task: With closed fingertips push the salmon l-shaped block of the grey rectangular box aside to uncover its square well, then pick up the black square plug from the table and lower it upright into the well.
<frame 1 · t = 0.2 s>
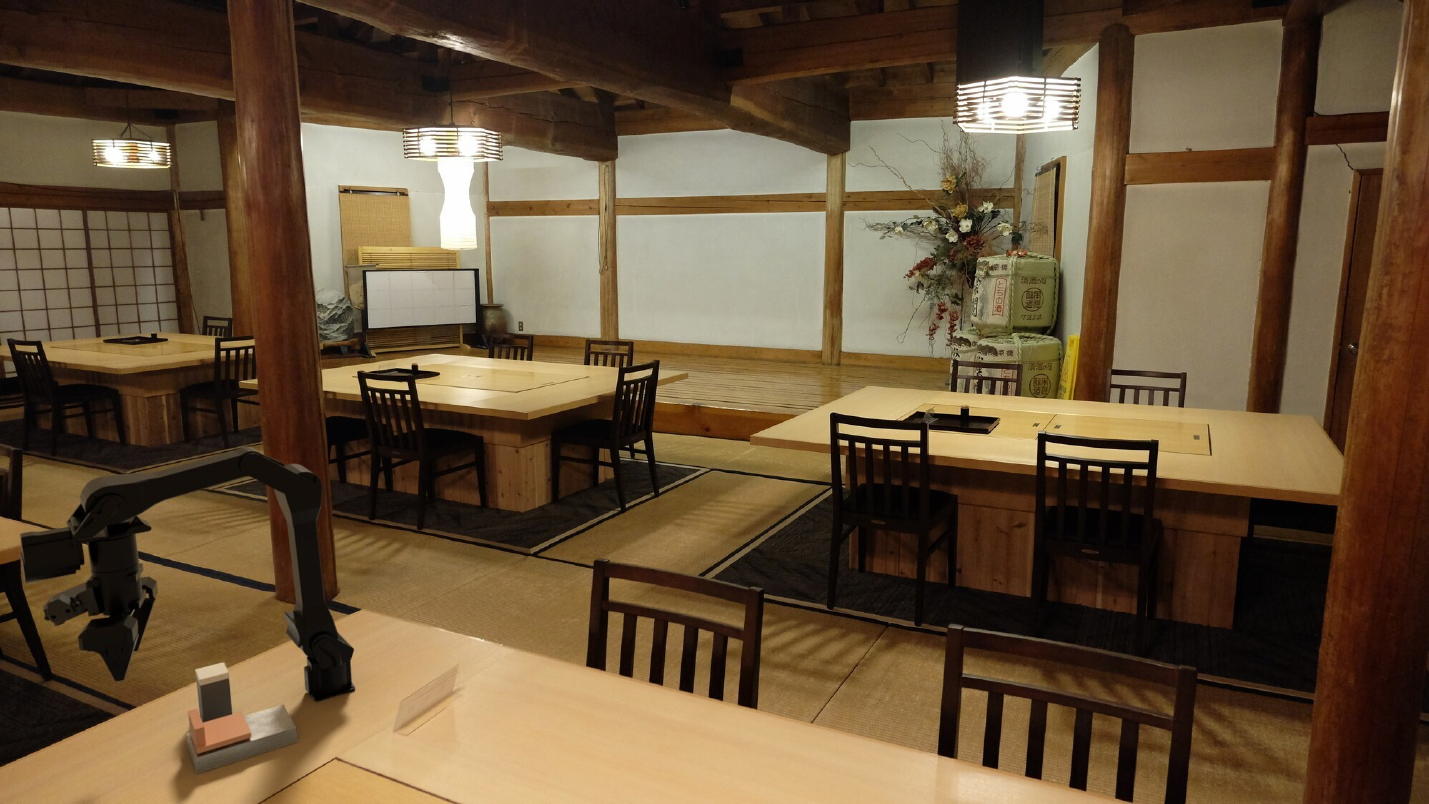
hand: (127, 665, 127), 14 cm above the table, fingers open, 9 cm apart
plug: (216, 716, 138), on the table
grey rectangular box: (244, 744, 131), on the table
salmon l-shaped block: (219, 723, 128), point 5 cm above the table, slide at 0.0 cm
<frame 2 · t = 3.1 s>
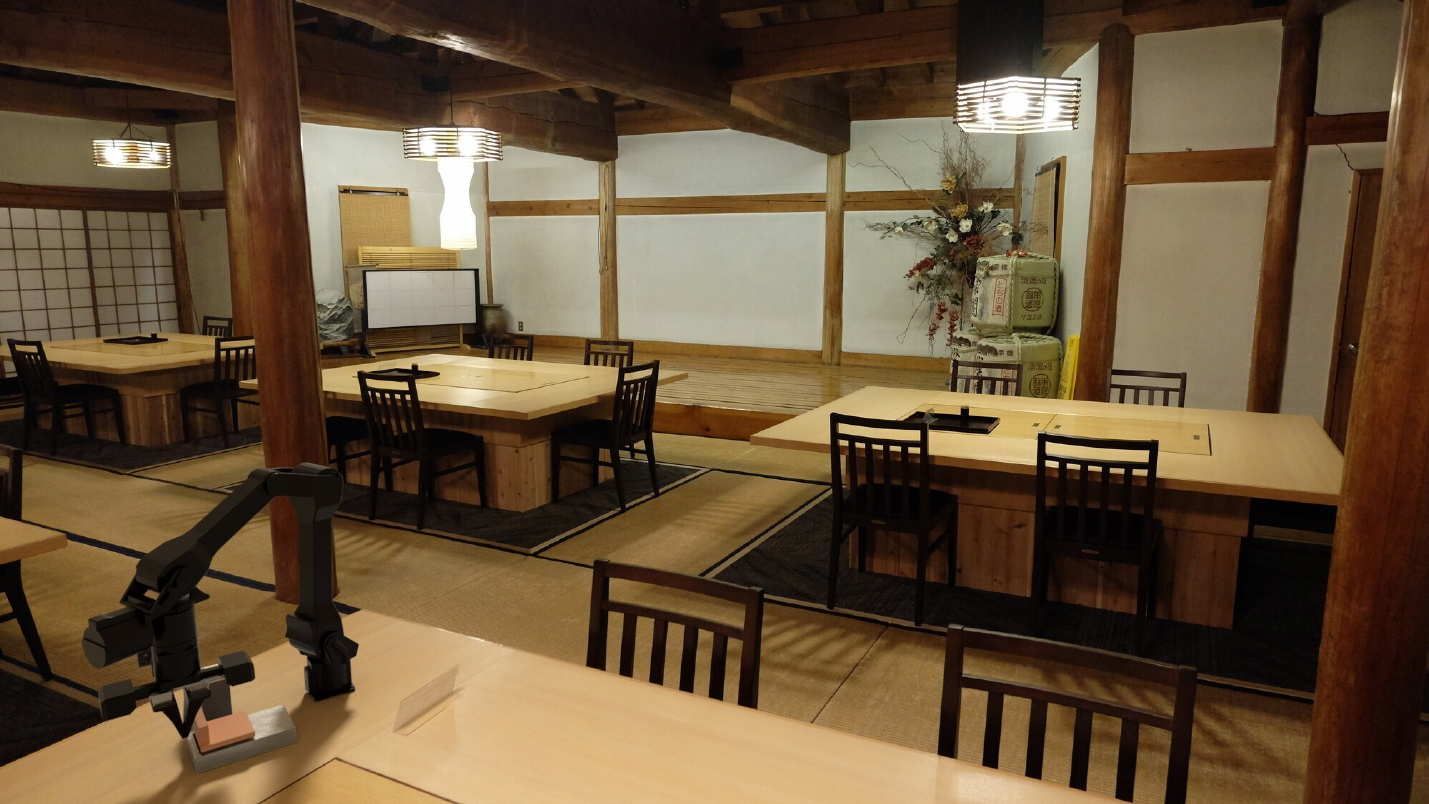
hand: (184, 736, 126), 4 cm above the table, fingers closed
salmon l-shaped block: (223, 722, 129), point 5 cm above the table, slide at 0.5 cm, touching gripper
everything else where it was.
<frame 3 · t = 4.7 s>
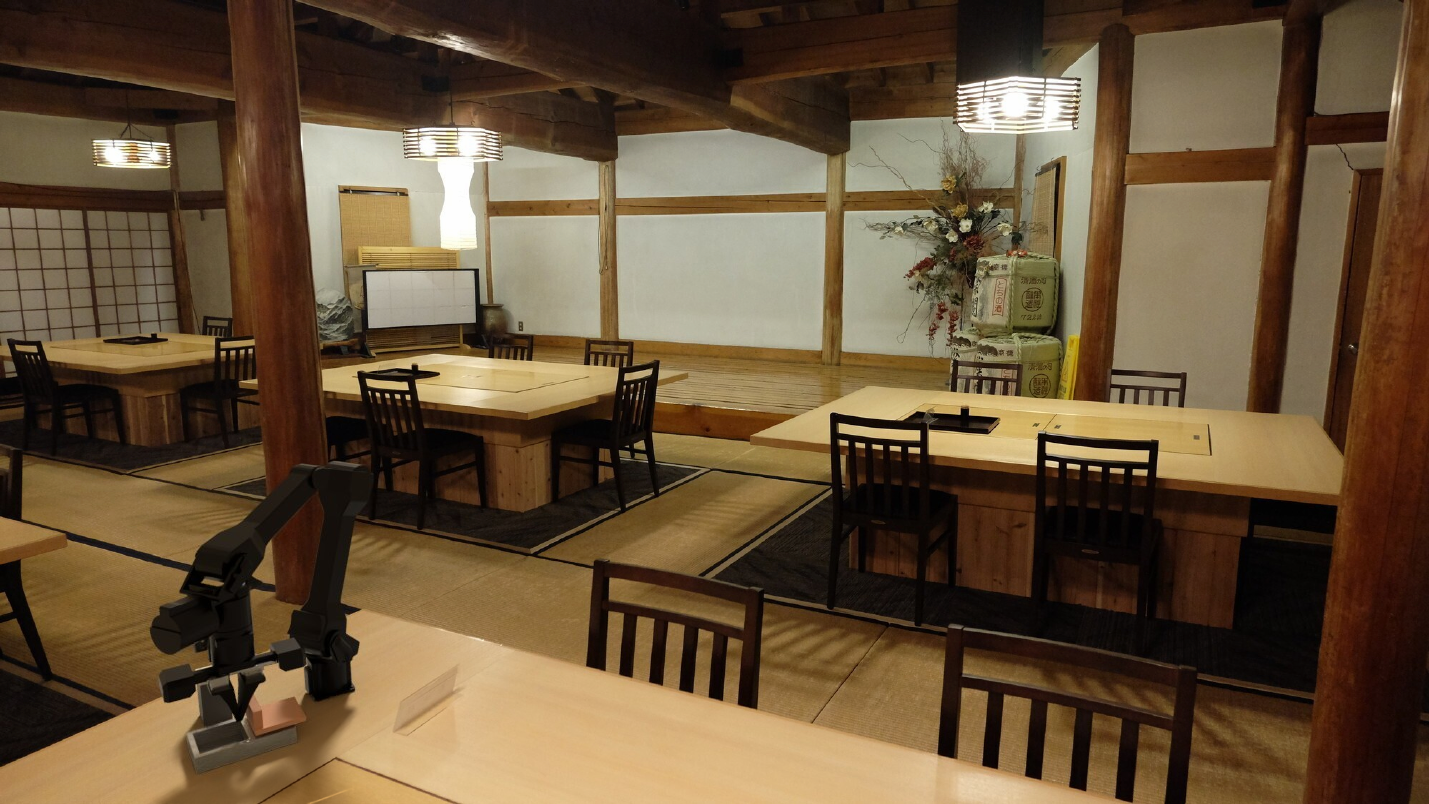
hand: (239, 720, 130), 4 cm above the table, fingers closed
salmon l-shaped block: (274, 707, 133), point 5 cm above the table, slide at 7.6 cm, touching gripper
everything else where it was.
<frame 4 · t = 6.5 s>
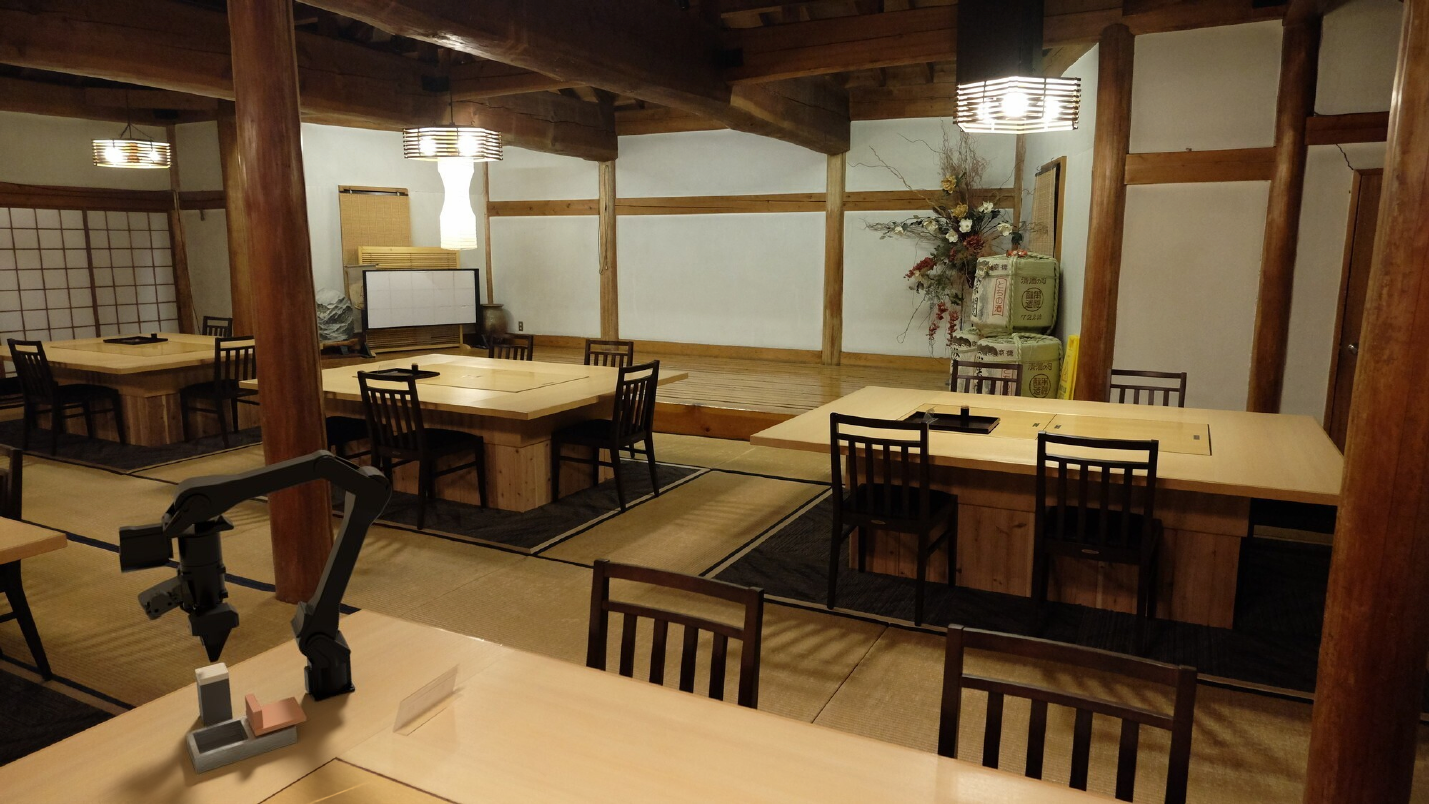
hand: (210, 653, 136), 11 cm above the table, fingers open, 6 cm apart
salmon l-shaped block: (275, 707, 133), point 5 cm above the table, slide at 7.6 cm
everything else where it was.
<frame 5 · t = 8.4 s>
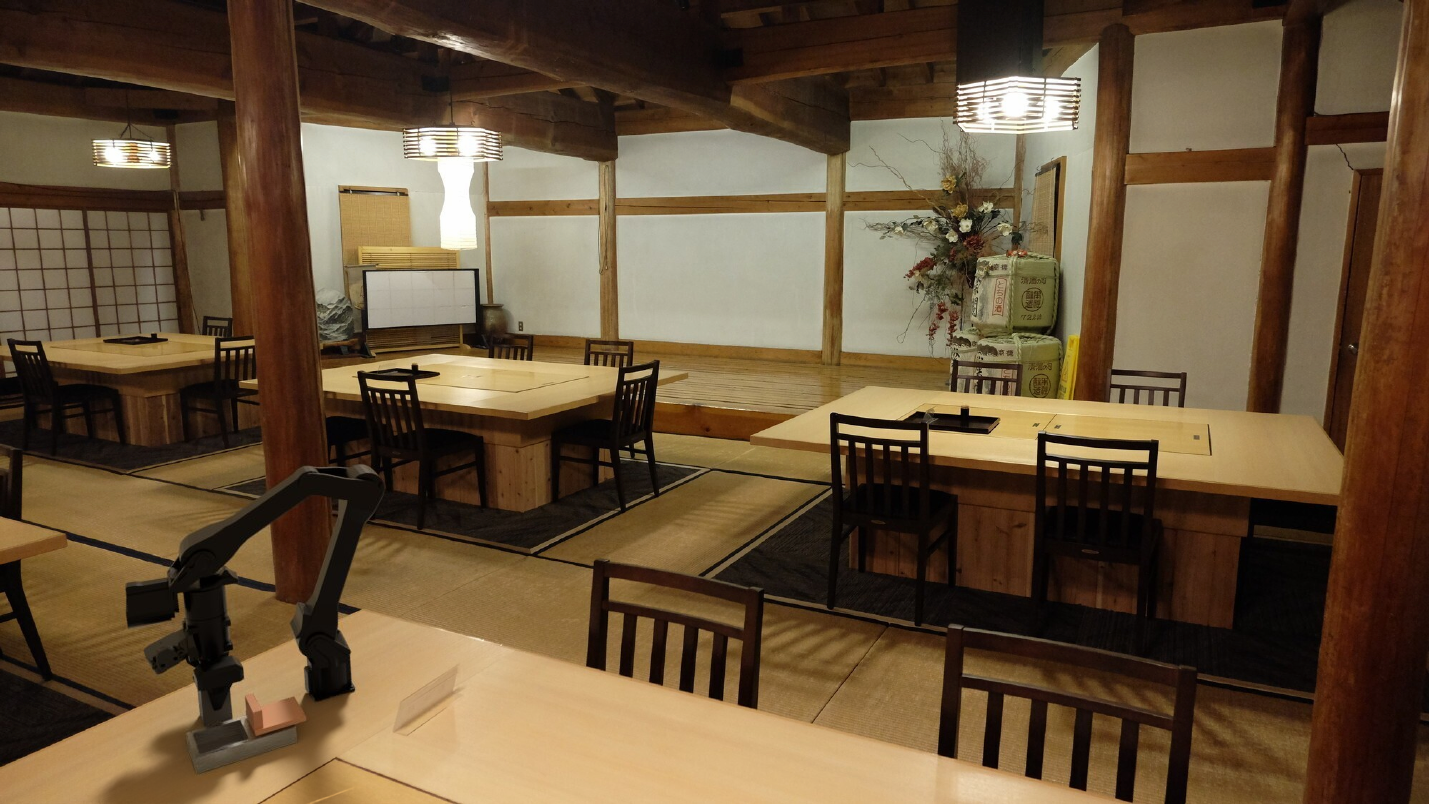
hand: (215, 703, 138), 2 cm above the table, fingers closed on plug, 4 cm apart
plug: (216, 716, 138), on the table, touching gripper
everything else where it was.
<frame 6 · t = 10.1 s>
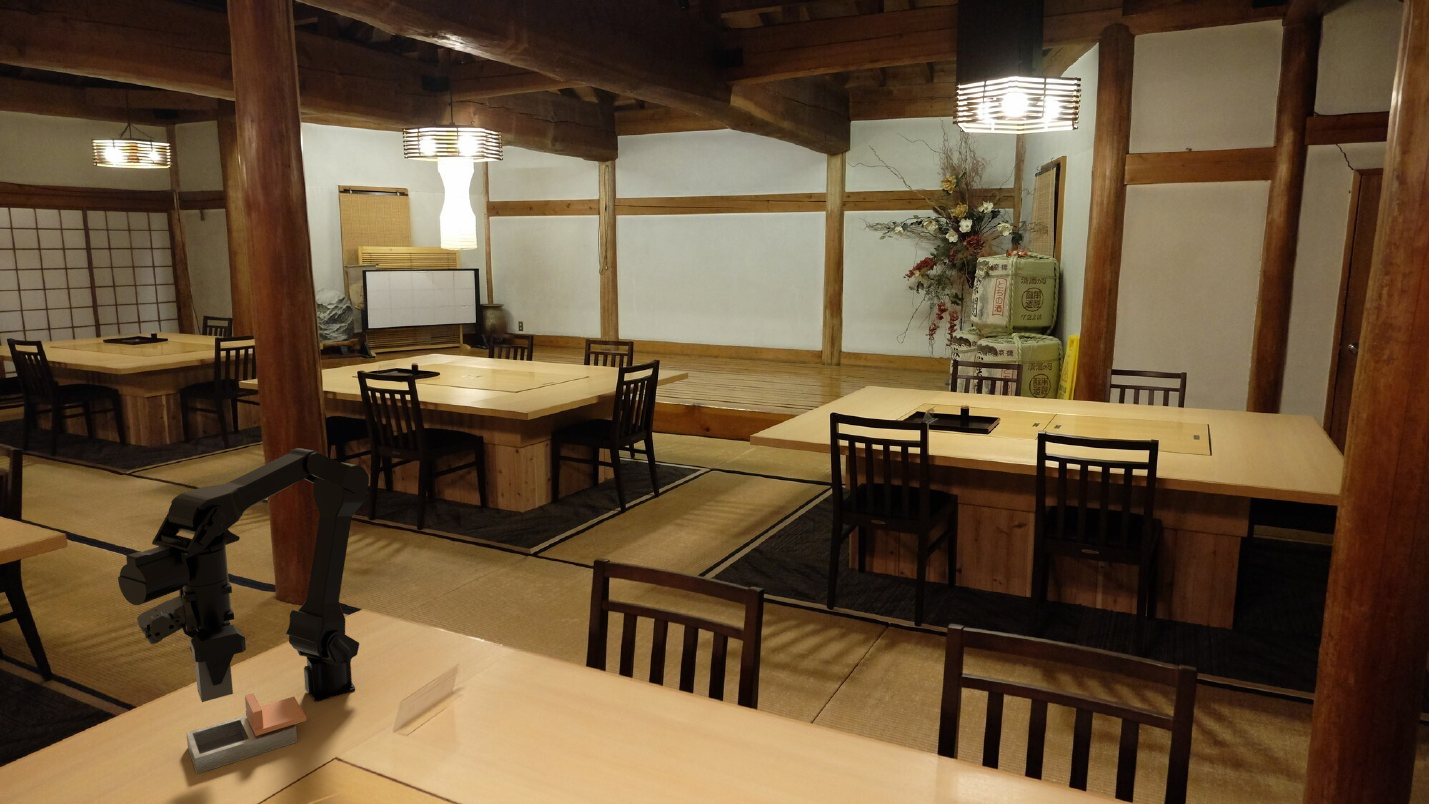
hand: (214, 678, 127), 12 cm above the table, fingers closed on plug, 4 cm apart
plug: (215, 692, 127), point 10 cm above the table, touching gripper
everything else where it was.
when the fingers open (3 cm above the table, at t = 12.1 s): plug stays where it is, resting on grey rectangular box.
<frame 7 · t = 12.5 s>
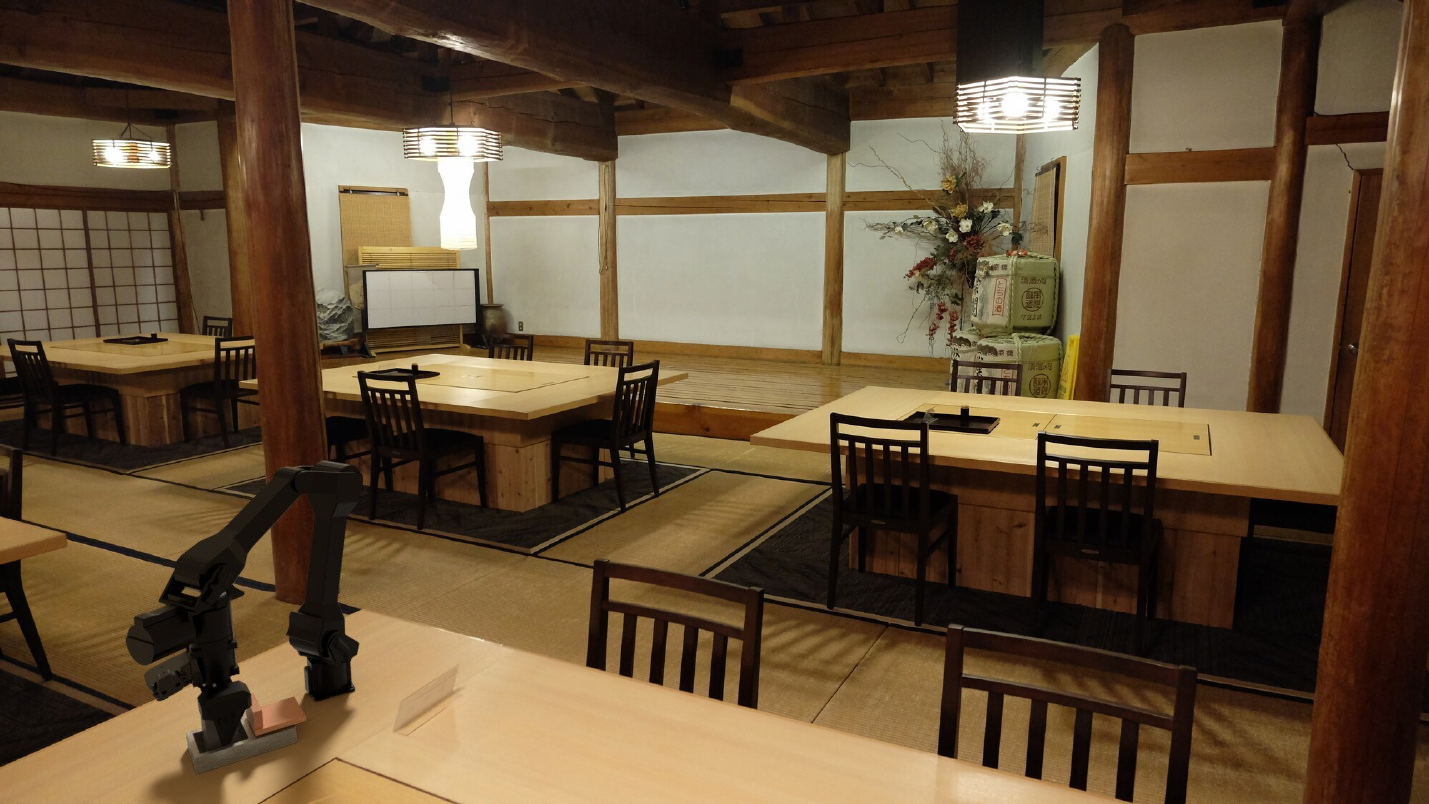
hand: (220, 731, 129), 3 cm above the table, fingers open, 8 cm apart
plug: (221, 749, 129), resting on grey rectangular box
everything else where it was.
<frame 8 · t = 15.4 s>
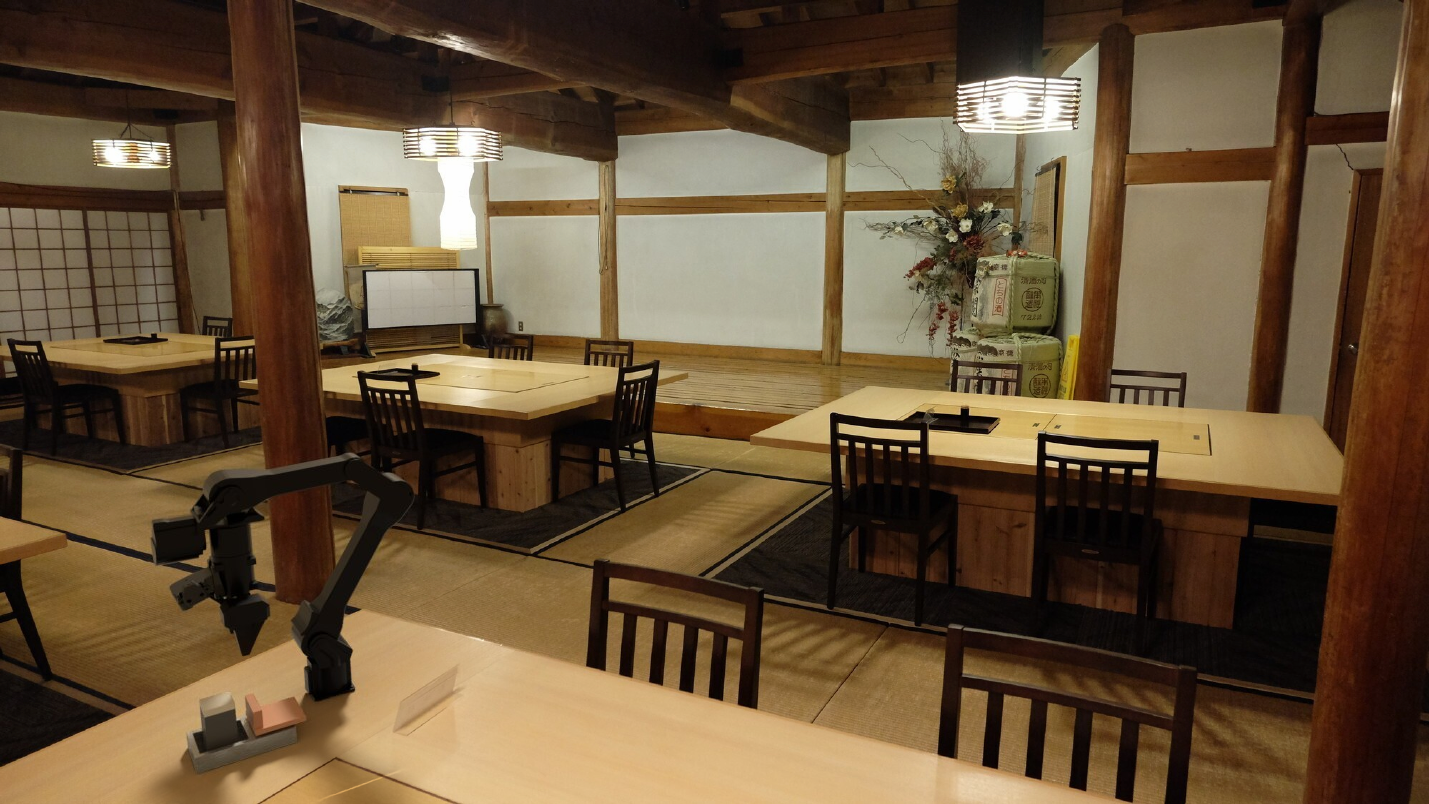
hand: (239, 644, 137), 12 cm above the table, fingers open, 9 cm apart
nothing on the table moved.
at the end: plug 0.1 cm from the target spot on the grey rectangular box, point 0.3 cm above the grey rectangular box's base; plug tilted 0°; salmon l-shaped block slide at 7.6 cm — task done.
